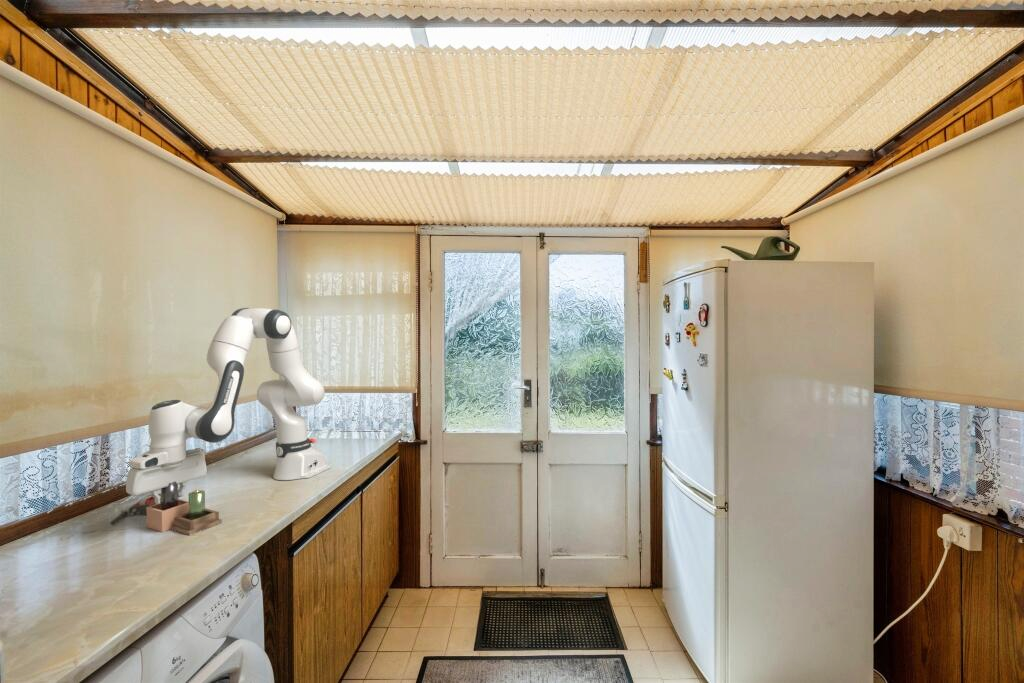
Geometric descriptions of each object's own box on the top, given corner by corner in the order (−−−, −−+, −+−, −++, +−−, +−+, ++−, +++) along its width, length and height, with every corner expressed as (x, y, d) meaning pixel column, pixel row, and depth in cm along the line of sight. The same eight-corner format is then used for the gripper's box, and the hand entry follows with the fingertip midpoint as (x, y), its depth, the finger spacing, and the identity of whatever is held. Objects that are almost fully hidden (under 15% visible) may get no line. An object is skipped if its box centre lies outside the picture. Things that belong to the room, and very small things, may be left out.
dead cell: (173, 507, 137) (172, 476, 137) (181, 509, 135) (180, 478, 135) (158, 512, 133) (157, 480, 133) (166, 514, 132) (165, 482, 131)
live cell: (201, 519, 136) (200, 487, 136) (208, 521, 134) (207, 489, 134) (186, 523, 132) (185, 491, 132) (193, 526, 130) (192, 493, 130)
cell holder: (204, 517, 139) (203, 506, 139) (221, 522, 135) (221, 511, 135) (171, 529, 131) (171, 517, 131) (189, 535, 127) (189, 523, 127)
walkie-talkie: (139, 503, 152) (107, 528, 133) (138, 491, 152) (106, 513, 133) (169, 500, 155) (142, 523, 136) (169, 487, 155) (141, 509, 136)
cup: (177, 516, 140) (176, 497, 140) (192, 521, 136) (192, 501, 136) (147, 527, 133) (146, 507, 132) (162, 532, 129) (161, 511, 129)
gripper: (198, 445, 145) (199, 487, 145) (122, 462, 126) (123, 510, 127) (210, 447, 142) (211, 490, 142) (133, 465, 124) (135, 514, 124)
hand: (169, 499), depth 134 cm, fingers closed on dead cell, 4 cm apart
